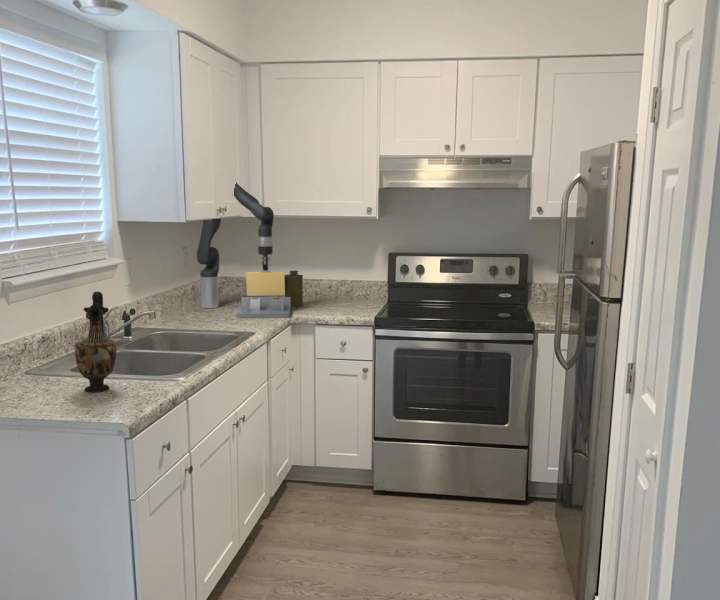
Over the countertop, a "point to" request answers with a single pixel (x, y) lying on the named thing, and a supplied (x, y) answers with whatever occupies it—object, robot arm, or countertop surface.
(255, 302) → the silver jaw
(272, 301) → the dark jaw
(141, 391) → the countertop surface
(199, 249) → the robot arm
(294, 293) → the canister
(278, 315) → the housing base
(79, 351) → the vase
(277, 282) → the lid
